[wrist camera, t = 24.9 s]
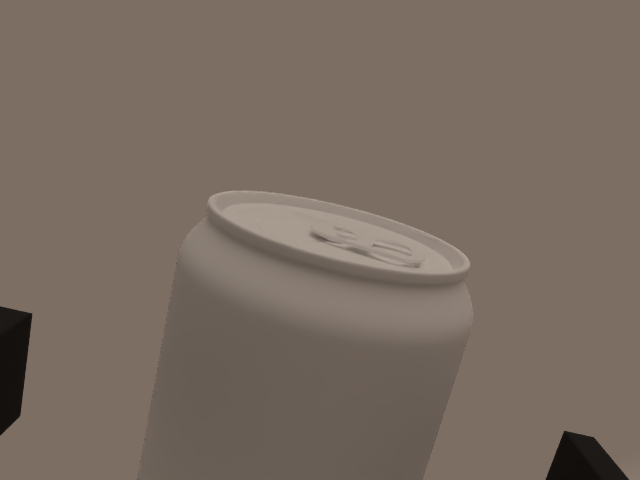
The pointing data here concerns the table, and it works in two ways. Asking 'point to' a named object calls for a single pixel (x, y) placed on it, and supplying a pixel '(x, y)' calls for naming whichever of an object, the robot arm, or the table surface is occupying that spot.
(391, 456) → the beverage can
